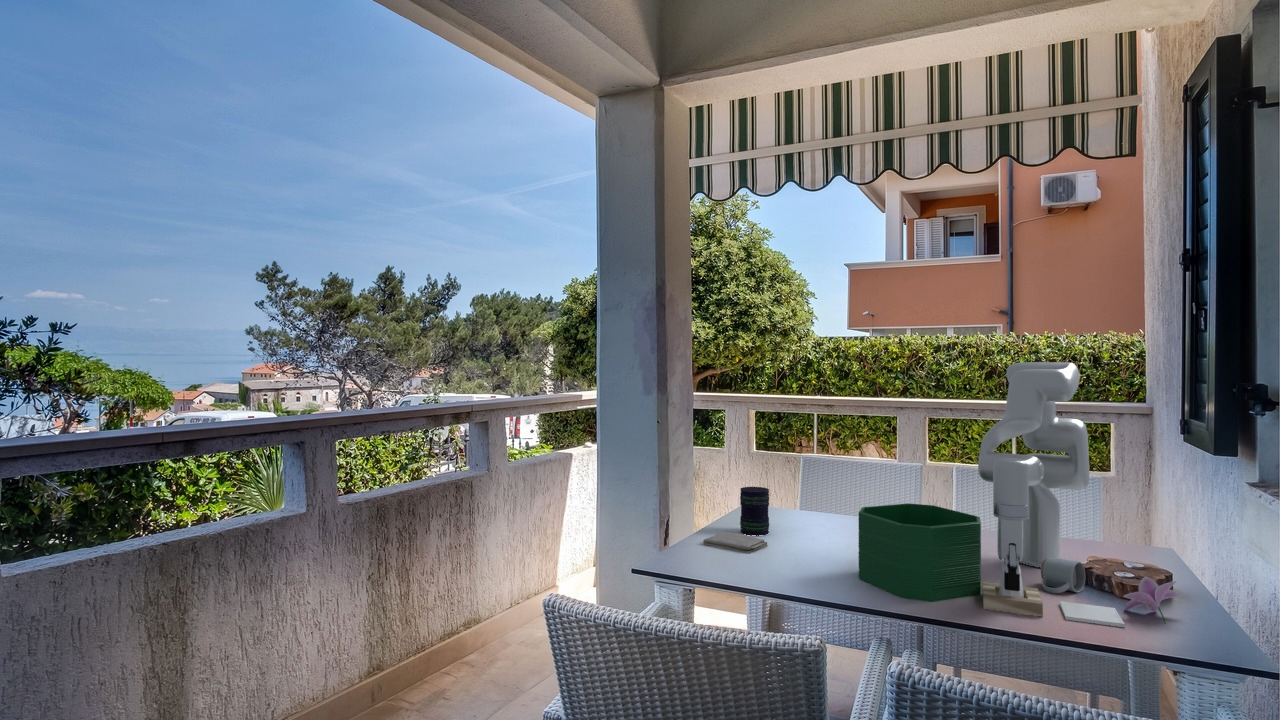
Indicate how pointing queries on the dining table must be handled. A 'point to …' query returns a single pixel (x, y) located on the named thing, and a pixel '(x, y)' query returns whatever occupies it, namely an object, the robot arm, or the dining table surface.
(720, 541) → the washcloth
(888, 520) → the planter
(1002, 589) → the pepper shaker
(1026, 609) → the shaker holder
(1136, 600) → the lily
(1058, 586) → the ceramic mug
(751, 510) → the storage jar
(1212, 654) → the dining table surface
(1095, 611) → the ceramic coaster
